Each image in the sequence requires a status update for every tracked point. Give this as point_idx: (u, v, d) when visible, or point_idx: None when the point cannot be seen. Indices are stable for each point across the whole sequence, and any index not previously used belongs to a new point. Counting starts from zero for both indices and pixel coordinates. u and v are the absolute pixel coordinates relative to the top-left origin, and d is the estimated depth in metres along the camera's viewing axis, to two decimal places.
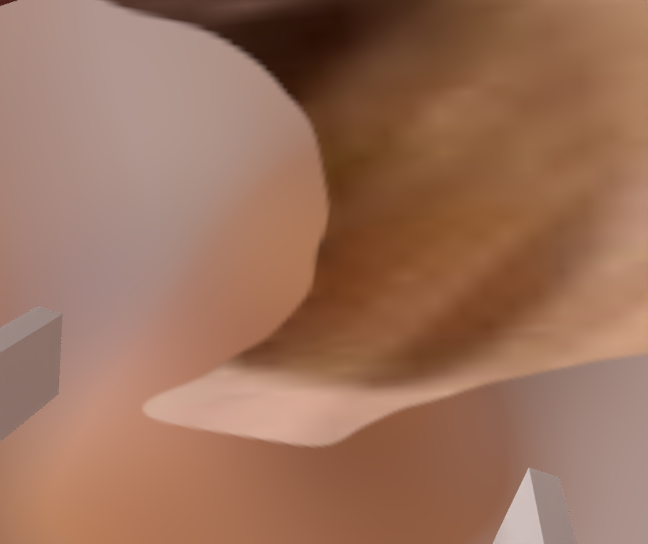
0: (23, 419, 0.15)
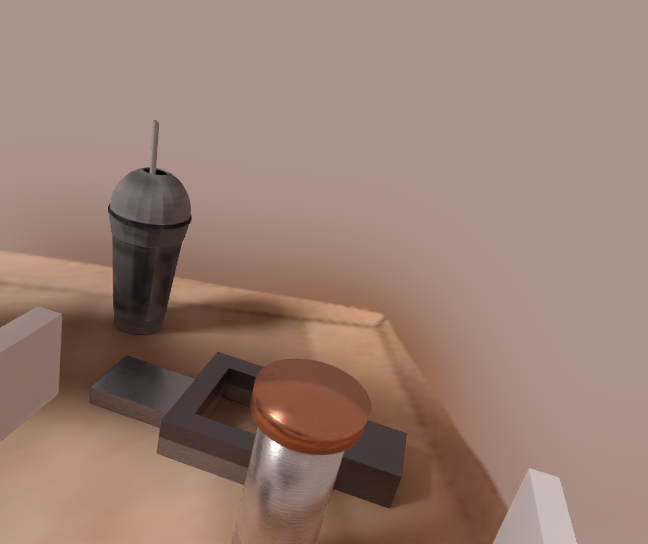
0: (23, 419, 0.15)
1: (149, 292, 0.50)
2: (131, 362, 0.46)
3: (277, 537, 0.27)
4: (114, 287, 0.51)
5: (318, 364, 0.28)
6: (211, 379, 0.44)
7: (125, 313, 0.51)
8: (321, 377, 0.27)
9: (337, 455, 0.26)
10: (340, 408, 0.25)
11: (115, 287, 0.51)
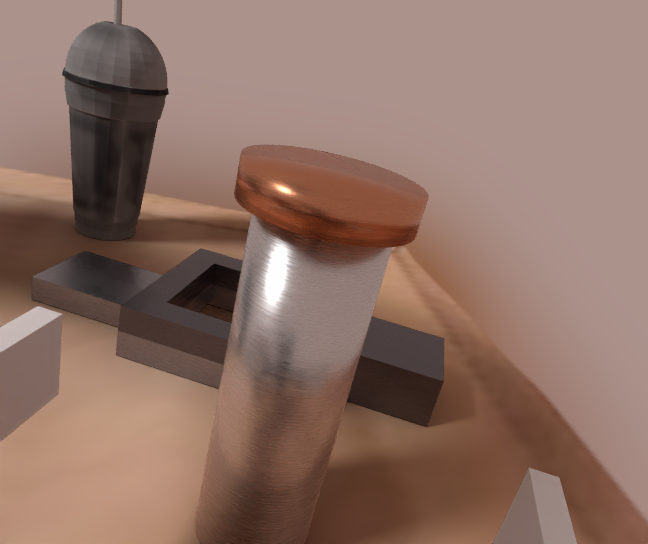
0: (23, 419, 0.15)
1: (116, 182, 0.40)
2: (89, 257, 0.36)
3: (279, 410, 0.17)
4: (73, 178, 0.41)
5: (339, 156, 0.18)
6: (191, 271, 0.34)
7: (87, 211, 0.41)
8: (346, 164, 0.17)
9: (376, 268, 0.16)
10: (382, 188, 0.16)
11: (74, 178, 0.41)
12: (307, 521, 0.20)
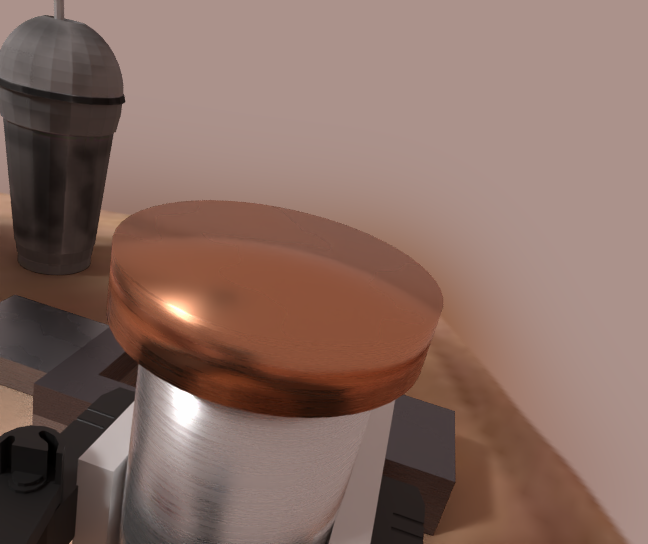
0: None
1: (61, 208, 0.34)
2: (19, 303, 0.29)
3: None
4: (12, 203, 0.35)
5: (302, 216, 0.12)
6: None
7: (28, 241, 0.35)
8: (309, 234, 0.11)
9: (352, 426, 0.09)
10: (362, 291, 0.09)
11: (12, 202, 0.34)
12: None
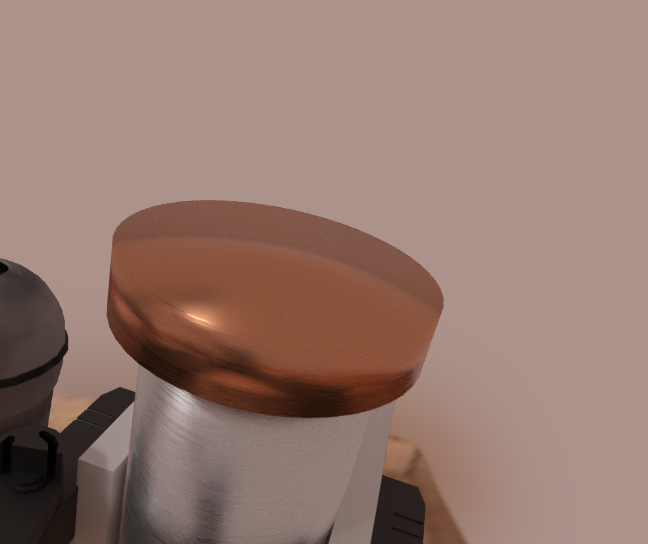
0: None
1: None
2: None
3: None
4: None
5: (302, 216, 0.12)
6: None
7: None
8: (309, 234, 0.11)
9: (352, 426, 0.09)
10: (363, 291, 0.09)
11: None
12: None
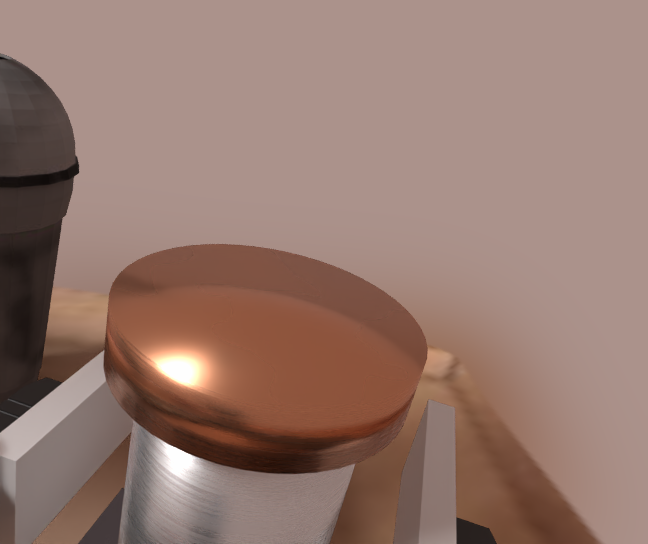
0: None
1: None
2: None
3: None
4: None
5: (294, 258, 0.12)
6: None
7: None
8: (300, 280, 0.11)
9: (339, 472, 0.10)
10: (349, 344, 0.09)
11: None
12: None
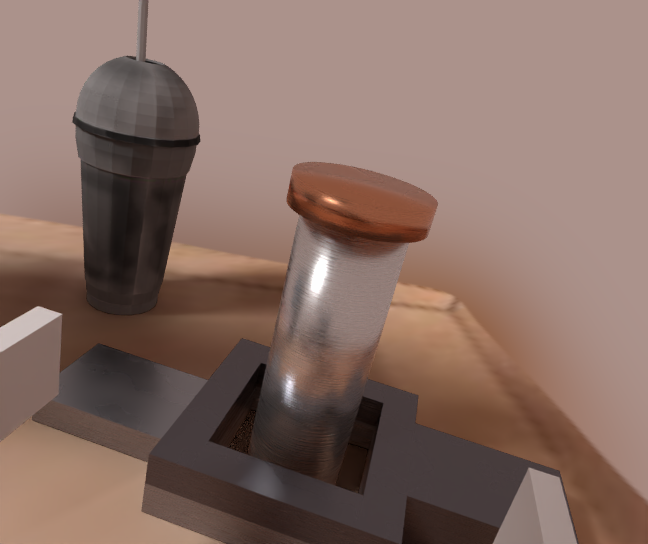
0: (23, 419, 0.15)
1: (137, 249, 0.33)
2: (105, 353, 0.29)
3: (319, 370, 0.21)
4: (84, 243, 0.34)
5: (366, 171, 0.23)
6: (234, 380, 0.27)
7: (101, 282, 0.34)
8: (372, 178, 0.22)
9: (396, 259, 0.20)
10: (401, 197, 0.20)
11: (86, 243, 0.34)
12: (337, 466, 0.25)
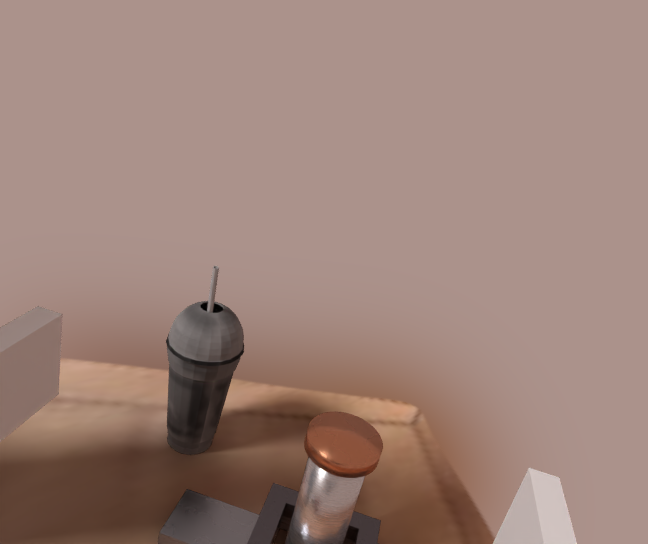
0: (23, 419, 0.15)
1: (204, 418, 0.52)
2: (192, 497, 0.48)
3: (321, 531, 0.40)
4: (170, 412, 0.53)
5: (347, 415, 0.42)
6: (271, 519, 0.46)
7: (180, 436, 0.53)
8: (349, 425, 0.41)
9: (361, 477, 0.40)
10: (363, 447, 0.39)
11: (171, 412, 0.53)
12: None
